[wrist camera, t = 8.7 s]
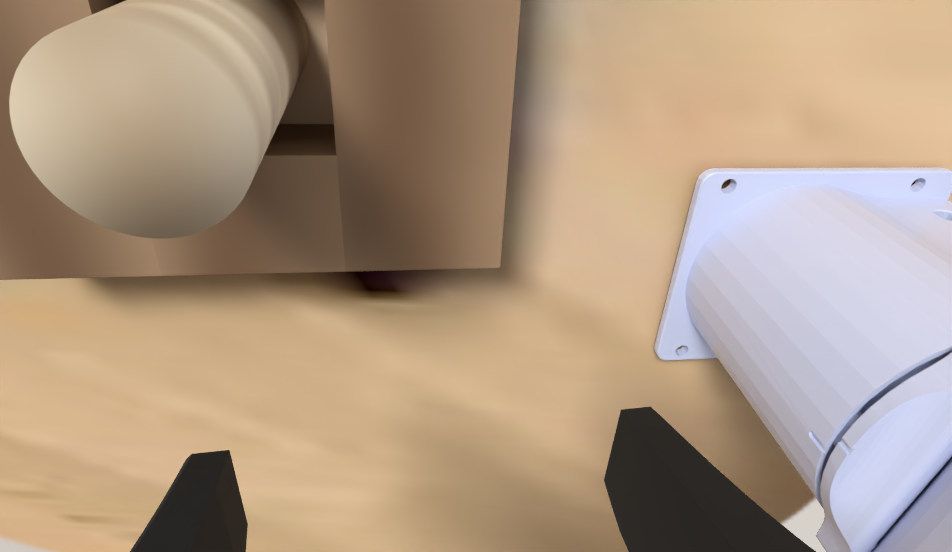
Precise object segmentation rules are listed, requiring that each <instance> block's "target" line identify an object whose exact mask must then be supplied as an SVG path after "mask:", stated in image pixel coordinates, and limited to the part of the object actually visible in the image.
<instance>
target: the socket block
mask: <svg viewBox="0 0 952 552" xmlns="http://www.w3.org/2000/svg"><path fill="white" fill-rule="evenodd" d="M123 1H126V0H0V280H11V279H53V278H94V277H136V276H178V275H220V274H262V273H304V272H346V271H388V270H430V269H472V268H500V263H501V250H502V237H503V224H504V212H505V199H506V186H507V173H508V160H509V147H510V135H511V122H512V109H513V96H514V83H515V70H516V58H517V45H518V32H519V19H520V6H521V0H294V1H295V2H296V4H297V6H298V7H299V9H300V11H301V13H302V15H303V18H304V21H305V24H306V27H307V32H308V42H309V48H308V56H307V61H306V64H305V67H304V70H303V72H302V74H301V76H300V78H299V81H298V83H297V85H296V87H295V89H294V91H293V94H292V96H291V98H290V100H289V102H288V104H287V107H286V109H285V111H284V113H283V115H282V117H281V120H280V122H279V124H278V126H277V128H276V130H275V133H274V135H273V137H272V139H271V141H270V143H269V146H268V148H267V150H266V152H265V154H264V156H263V159H262V161H261V163H260V165H259V167H258V169H257V172H256V174H255V176H254V178H253V180H252V182H251V185H250V187H249V189H248V191H247V193H246V194H245V196H244V198H243V200H242V201H241V202H240V204H239V205H238V206H237V208H236V209H235V210H234V211H233V212H232V213H231V214H230V215H229V216H228V217H226V218H225V219H224V220H222V221H221V222H219V223H218V224H216V225H214V226H212V227H211V228H209V229H207V230H204V231H201V232H199V233H196V234H193V235H188V236H184V237H178V238H168V239H154V238H144V237H137V236H132V235H127V234H123V233H120V232H117V231H114V230H111V229H108V228H105V227H103V226H101V225H98V224H96V223H94V222H92V221H90V220H88V219H87V218H85V217H83V216H81V215H79V214H78V213H76V212H75V211H74V210H72V209H71V208H69V207H68V206H66V205H65V204H64V203H63V202H61V201H60V200H59V199H58V198H57V197H55V196H54V195H53V194H52V193H51V192H50V191H49V190H48V189H47V188H46V187H45V186H44V185H43V184H42V182H41V181H40V180H39V179H38V177H37V176H36V175H35V174H34V172H33V171H32V170H31V168H30V166H29V165H28V163H27V162H26V160H25V158H24V157H23V155H22V152H21V150H20V148H19V146H18V144H17V141H16V138H15V135H14V132H13V129H12V124H11V118H10V107H9V98H10V90H11V84H12V81H13V78H14V75H15V72H16V70H17V68H18V66H19V64H20V62H21V60H22V59H23V57H24V56H25V55H26V54H27V52H28V51H29V50H30V49H31V47H33V46H34V45H35V44H36V43H37V42H38V41H40V40H41V39H42V38H43V37H45V36H47V35H48V34H50V33H52V32H53V31H55V30H57V29H60V28H62V27H64V26H67V25H69V24H71V23H74V22H76V21H78V20H81V19H83V18H85V17H88V16H90V15H93V14H95V13H97V12H100V11H102V10H104V9H107V8H109V7H111V6H114V5H116V4H119V3H121V2H123Z"/></svg>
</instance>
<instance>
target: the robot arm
mask: <svg viewBox="0 0 952 552" xmlns="http://www.w3.org/2000/svg"><path fill="white" fill-rule="evenodd" d="M728 179H731V182H730V184H729V185H728V186H727V187H726V188H723V189H721V186H722V184H723V183H724V182H725V181H726V180H728ZM916 179H917V181H916V182H915V184H913V185H912V183H913V182H914V181H915V180H916ZM911 185H912V186H911ZM951 193H952V171H951V170H949V169H947V168H943V167H941V168H712V169H708V170H706V171H704V172H703V173H702V174H701V175H700V176H699V177H698V179H697V182H696V185H695V189H694V193H693V197H692V201H691V205H690V208H689V212H688V216H687V220H686V224H685V228H684V232H683V236H682V240H681V244H680V248H679V252H678V256H677V260H676V264H675V267H674V271H673V275H672V279H671V283H670V287H669V291H668V295H667V299H666V303H665V307H664V311H663V315H662V319H661V322H660V326H659V330H658V334H657V338H656V342H655V346H654V350H655V352H656V354H657V355H658V357H659V358H660V359H662V360H686V359H709V358H718V359H719V361H720V362H721V364H722V365H723V366H724V368H725V369H726V371H727V372H728V374H729V375H730V376H731V378H732V379H733V381H734V382H735V384H736V385H737V386H738V388H739V389H740V391H741V392H742V393H743V395H744V396H745V398H746V399H747V401H748V402H749V403H750V405H751V406H752V408H753V409H754V411H755V412H756V413H757V415H758V416H759V418H760V419H761V420H762V422H763V423H764V425H765V426H766V428H767V429H768V430H769V432H770V433H771V435H772V436H773V438H774V439H775V440H776V442H777V443H778V445H779V446H780V447H781V449H782V450H783V452H784V453H785V455H786V456H787V457H788V459H789V460H790V462H791V463H792V465H793V466H794V467H795V469H796V470H797V472H798V473H799V474H800V476H801V477H802V479H803V480H804V482H805V483H806V484H807V486H808V487H809V489H810V490H811V492H812V493H813V494H814V496H815V497H816V499H817V500H818V501H819V503H820V504H821V506H822V507H823V509H824V513H825V518H824V522H823V524H822V526H821V528H820V529H819V531H818V532H817V535H816V537H817V538H818V540H819V541H820V543H821V544H822V546H823V547H824V549H825V550H826V552H952V202H951V201H949V200H948V199H949V197H950V195H951ZM683 345H684V346H683ZM680 346H683V347H682V348H680V349H678V350H676V349H677V348H678V347H680ZM604 481H605V485H606V488H607V491H608V495H609V498H610V501H611V505H612V508H613V511H614V514H615V517H616V520H617V523H618V526H619V529H620V532H621V534H622V537H623V539H624V541H625V544H626V546H627V548H628V551H629V552H816V551H814V550H813V549H811V548H810V547H809V546H808V545H806V544H805V543H804V542H803V541H801V540H800V539H799V538H797V537H796V536H795V535H794V534H792V533H791V532H790V531H789V530H787V529H786V528H785V527H784V526H783V525H781V524H780V523H779V522H778V521H776V520H775V519H774V518H773V517H771V516H770V515H769V514H768V513H767V512H765V511H764V510H763V509H762V508H761V507H759V506H758V505H757V504H756V503H755V502H754V501H752V500H751V499H750V498H749V497H748V496H747V495H745V494H744V493H743V492H742V491H741V490H740V489H739V488H738V487H736V486H735V485H734V484H733V483H732V482H731V481H730V480H729V479H727V478H726V477H725V476H724V475H723V474H722V473H721V472H720V471H719V470H717V469H716V468H715V467H714V466H713V465H712V464H711V463H710V462H709V461H708V460H707V459H706V458H704V457H703V456H702V455H701V454H700V453H699V452H698V451H697V450H696V449H695V448H694V447H693V446H692V445H691V444H690V443H688V442H687V441H686V440H685V439H684V438H683V437H682V436H681V435H680V434H679V433H678V432H677V431H676V430H675V429H674V428H673V427H672V426H671V425H669V424H668V423H667V422H666V421H665V420H664V419H663V418H662V417H661V416H660V415H659V414H658V413H657V412H656V411H655V410H653V409H652V408H651V407H644V408H634V409H624V410H621V412H620V416H619V421H618V425H617V429H616V433H615V437H614V441H613V445H612V450H611V454H610V458H609V462H608V466H607V470H606V474H605V479H604ZM247 526H248V524H247V520H246V516H245V512H244V508H243V504H242V500H241V496H240V492H239V487H238V483H237V479H236V475H235V471H234V467H233V463H232V459H231V455H230V451H229V450H226V451H216V452H206V453H197V454H191V455H190V456H189V457H188V458H187V459H186V461H185V463H184V464H183V466H182V468H181V470H180V471H179V473H178V475H177V477H176V478H175V480H174V482H173V484H172V485H171V487H170V489H169V490H168V492H167V494H166V496H165V497H164V499H163V501H162V502H161V504H160V505H159V507H158V509H157V510H156V512H155V514H154V515H153V517H152V518H151V520H150V522H149V523H148V525H147V526H146V528H145V530H144V531H143V533H142V534H141V536H140V537H139V539H138V540H137V542H136V543H135V545H134V546H133V548H132V549H131V551H130V552H246V539H247Z"/></svg>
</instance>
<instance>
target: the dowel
mask: <svg viewBox="0 0 952 552" xmlns="http://www.w3.org/2000/svg"><path fill="white" fill-rule="evenodd" d="M308 48H309V42H308V32H307V27H306V24H305V21H304V18H303V15H302V13H301V11H300V9H299V7H298V6H297V4H296V2H295V1H294V0H126V1H123V2H121V3H119V4H116V5H114V6H111V7H109V8H107V9H104V10H102V11H100V12H97V13H95V14H93V15H90V16H88V17H85V18H83V19H81V20H78V21H76V22H74V23H71V24H69V25H67V26H64V27H62V28H60V29H57V30H55V31H53V32H52V33H50V34H48V35H47V36H45V37H43V38H42V39H41V40H40V41H38V42H37V43H36V44H35V45H34V46H33V47H31V49H30V50H29V51H28V52H27V54H26V55H25V56H24V57H23V59H22V60H21V62H20V64H19V66H18V68H17V70H16V72H15V75H14V78H13V81H12V84H11V90H10V98H9V107H10V118H11V124H12V129H13V132H14V135H15V138H16V141H17V144H18V146H19V148H20V150H21V152H22V155H23V157H24V158H25V160H26V162H27V163H28V165H29V166H30V168H31V170H32V171H33V172H34V174H35V175H36V176H37V177H38V179H39V180H40V181H41V182H42V184H43V185H44V186H45V187H46V188H47V189H48V190H49V191H50V192H51V193H52V194H53V195H54V196H55V197H57V198H58V199H59V200H60V201H61V202H63V203H64V204H65V205H66V206H68V207H69V208H71V209H72V210H74V211H75V212H76V213H78V214H79V215H81V216H83V217H85V218H87V219H88V220H90V221H92V222H94V223H96V224H98V225H101V226H103V227H105V228H108V229H111V230H114V231H117V232H120V233H123V234H127V235H132V236H137V237H144V238H154V239H168V238H178V237H184V236H188V235H193V234H196V233H199V232H201V231H204V230H207V229H209V228H211V227H212V226H214V225H216V224H218V223H219V222H221V221H222V220H224V219H225V218H226V217H228V216H229V215H230V214H231V213H232V212H233V211H234V210H235V209H236V208H237V206H238V205H239V204H240V202H241V201H242V200H243V198H244V196H245V194H246V193H247V191H248V189H249V187H250V185H251V182H252V180H253V178H254V176H255V174H256V172H257V169H258V167H259V165H260V163H261V161H262V159H263V156H264V154H265V152H266V150H267V148H268V146H269V143H270V141H271V139H272V137H273V135H274V133H275V130H276V128H277V126H278V124H279V122H280V120H281V117H282V115H283V113H284V111H285V109H286V107H287V104H288V102H289V100H290V98H291V96H292V94H293V91H294V89H295V87H296V85H297V83H298V81H299V78H300V76H301V74H302V72H303V70H304V67H305V64H306V61H307V56H308Z"/></svg>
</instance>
